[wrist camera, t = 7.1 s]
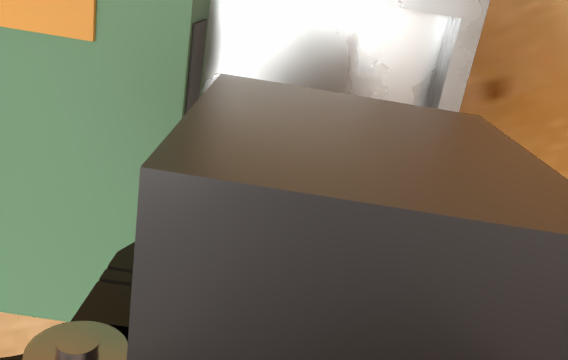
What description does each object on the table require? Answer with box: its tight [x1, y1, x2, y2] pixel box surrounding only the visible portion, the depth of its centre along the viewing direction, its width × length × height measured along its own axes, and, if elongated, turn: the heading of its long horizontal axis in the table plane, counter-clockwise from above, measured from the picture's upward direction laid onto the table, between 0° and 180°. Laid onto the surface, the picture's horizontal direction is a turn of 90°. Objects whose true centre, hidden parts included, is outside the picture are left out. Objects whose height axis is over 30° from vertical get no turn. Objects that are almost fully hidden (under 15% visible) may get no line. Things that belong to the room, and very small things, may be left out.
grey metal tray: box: [200, 0, 490, 112], centre depth 22 cm, size 15×11×2 cm
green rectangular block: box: [0, 0, 210, 322], centre depth 19 cm, size 20×9×4 cm, turn 171°
